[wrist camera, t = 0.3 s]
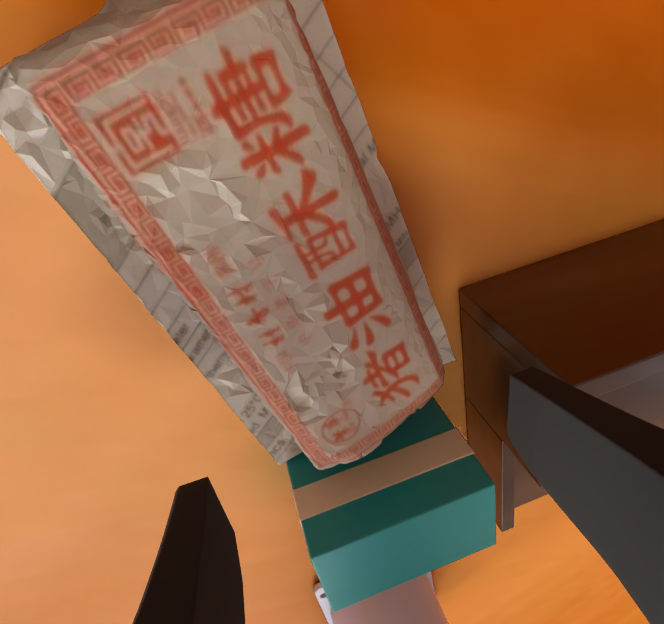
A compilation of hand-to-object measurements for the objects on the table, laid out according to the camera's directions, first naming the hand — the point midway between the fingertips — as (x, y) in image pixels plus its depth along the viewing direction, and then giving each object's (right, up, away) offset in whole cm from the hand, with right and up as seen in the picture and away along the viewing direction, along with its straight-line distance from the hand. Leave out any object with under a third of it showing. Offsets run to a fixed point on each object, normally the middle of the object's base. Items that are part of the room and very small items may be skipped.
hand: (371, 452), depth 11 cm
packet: (+1, -4, +14) cm, 15 cm away
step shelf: (+13, +1, +16) cm, 21 cm away
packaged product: (-3, +6, +8) cm, 10 cm away
